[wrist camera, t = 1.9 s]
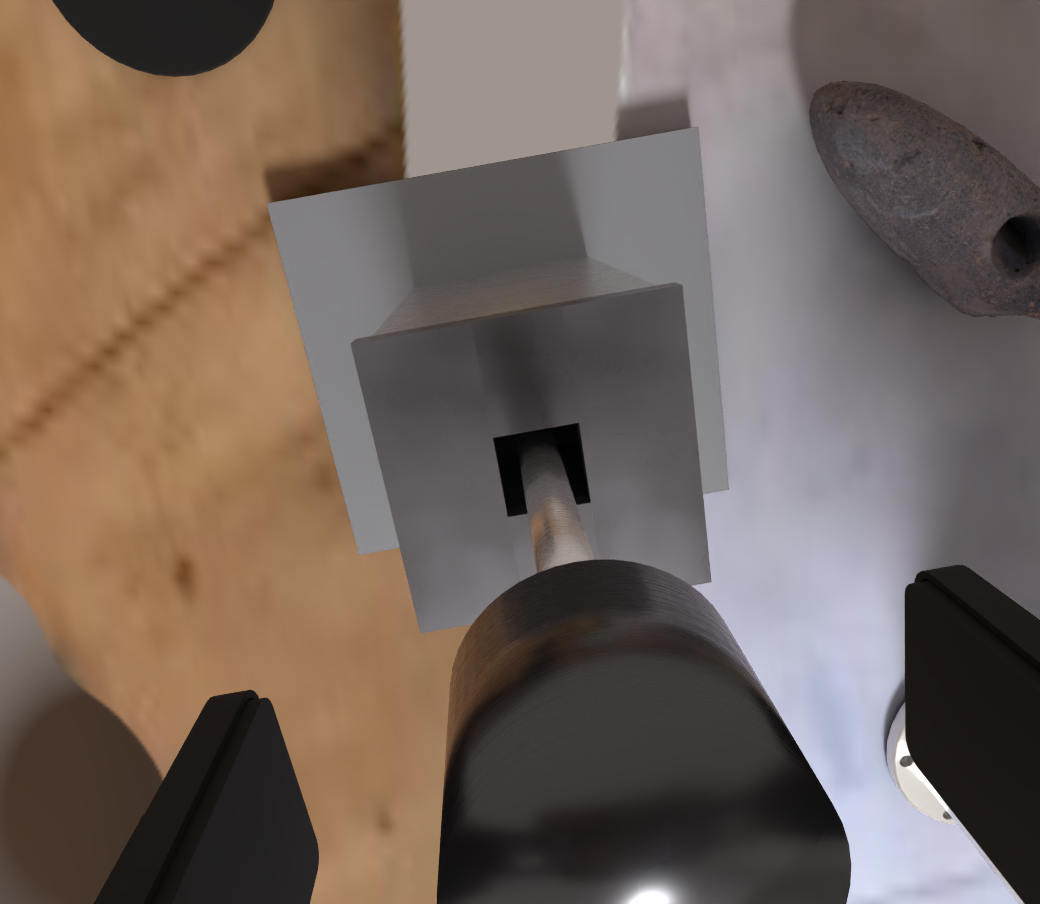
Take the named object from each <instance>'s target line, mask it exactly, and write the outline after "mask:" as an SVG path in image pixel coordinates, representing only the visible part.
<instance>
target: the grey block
mask: <svg viewBox="0 0 1040 904" xmlns="http://www.w3.org/2000/svg"><path fill="white" fill-rule="evenodd" d="M350 345H351V349H352V353H353V357H354V361H355V365H356V369H357V373H358V378H359V382H360V386H361V390H362V394H363V398H364V402H365V406H366V411H367V415H368V419H369V423H370V427H371V431H372V435H373V439H374V443H375V448H376V452H377V456H378V460H379V464H380V468H381V472H382V476H383V480H384V485H385V489H386V493H387V497H388V501H389V505H390V509H391V513H392V518H393V522H394V526H395V530H396V534H397V538H398V542H399V546H400V550H401V555H402V559H403V563H404V567H405V571H406V575H407V579H408V583H409V588H410V592H411V596H412V600H413V604H414V608H415V612H416V616H417V620H418V625H419V629H420V633H424V632H430V631H436V630H442V629H447V628H453V627H459V626H464V625H470V624H473V623H474V621H475V620H476V619H477V618H478V616H479V615H480V614H481V613H482V612H483V611H484V610H485V609H486V607H487V606H488V605H489V604H491V603H492V602H493V601H494V600H495V599H496V598H497V597H499V596H500V595H501V594H502V593H503V592H505V591H506V590H508V589H509V588H511V587H512V586H514V585H515V584H517V583H518V582H520V581H522V580H524V579H526V578H528V577H530V576H532V575H534V574H536V573H537V570H536V563H535V557H534V551H533V544H532V538H531V531H530V525H529V519H528V512H527V506H526V500H525V493H524V487H523V480H522V474H521V468H520V461H519V455H518V449H517V442H516V436H515V434H518V433H523V432H529V431H535V430H540V429H546V428H552V432H553V435H554V438H555V441H556V444H557V447H558V450H559V453H560V456H561V459H562V462H563V465H564V468H565V471H566V474H567V477H568V481H569V484H570V487H571V490H572V493H573V496H574V499H575V502H576V505H577V508H578V511H579V514H580V517H581V520H582V523H583V526H584V529H585V533H586V536H587V539H588V542H589V545H590V548H591V551H592V554H593V557H594V560H622V561H630V562H636V563H640V564H644V565H648V566H652V567H655V568H657V569H660V570H663V571H665V572H668V573H670V574H672V575H674V576H676V577H677V578H679V579H681V580H683V581H685V582H686V583H688V584H689V585H690V586H692V585H697V584H703V583H709V582H711V573H710V563H709V552H708V542H707V532H706V522H705V511H704V501H703V491H702V481H701V470H700V460H699V450H698V439H697V429H696V419H695V409H694V398H693V388H692V378H691V368H690V357H689V347H688V337H687V326H686V316H685V306H684V296H683V285H681V284H678V283H676V282H673V283H667V284H662V285H654V284H651V283H649V282H647V281H644V280H642V279H640V278H637V277H635V276H633V275H630V274H628V273H626V272H623V271H621V270H619V269H616V268H614V267H612V266H609V265H607V264H605V263H602V262H600V261H598V260H595V259H593V258H591V257H589V256H585V257H579V258H574V259H568V260H562V261H557V262H551V263H546V264H540V265H534V266H529V267H523V268H517V269H512V270H506V271H501V272H495V273H489V274H484V275H478V276H472V277H467V278H461V279H456V280H450V281H444V282H439V283H433V284H427V285H422V286H416V287H413V289H412V290H411V291H410V292H409V293H408V294H407V296H406V297H405V298H404V299H403V300H402V301H401V303H400V304H399V305H398V306H397V307H396V308H395V310H394V311H393V312H392V313H391V314H390V315H389V316H388V318H387V319H386V320H385V321H384V322H383V323H382V325H381V326H380V327H379V328H378V329H377V330H376V332H375V333H374V334H373V335H372V336H369V337H363V338H357V339H355V340H354V341H353V342H352V343H351V344H350Z"/></svg>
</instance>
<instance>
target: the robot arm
mask: <svg viewBox="0 0 1040 904" xmlns="http://www.w3.org/2000/svg"><path fill="white" fill-rule="evenodd" d="M887 762H888V767H889V772H890V774H891V776H892V778H893V781H894V783H895V785H896V786H897V787H898V789H899V790H900V791H901V793H902V794H903V796H904V797H905V799H906V800H907V801H908V802H909V803H910V804H911V805H912V806H913V807H914V808H915V809H917V810H918V811H919V812H921V813H923V814H925V815H926V816H928V817H930V818H932V819H934V820H937V821H940V822H943V823H947V824H954V825H958V826H959V827H960V829H961V830H962V831H963V833H964V834H965V835H966V836H967V838H968V839H969V840H970V842H971V843H972V844H973V846H974V847H975V848H976V849H977V851H978V852H979V853H980V855H981V856H982V857H983V858H984V860H985V861H986V862H987V864H988V865H989V866H990V867H991V869H992V870H993V871H994V873H995V874H996V875H997V876H998V878H999V879H1000V880H1001V882H1002V883H1003V884H1004V885H1005V887H1006V888H1007V889H1008V891H1009V892H1010V893H1011V894H1012V896H1013V897H1014V898H1015V900H1016V901H1017V902H1018V903H1019V904H1040V620H1039V619H1038V618H1036V617H1035V616H1034V615H1032V614H1031V613H1029V612H1028V611H1027V610H1025V609H1024V608H1023V607H1021V606H1020V605H1019V604H1017V603H1016V602H1014V601H1013V600H1012V599H1010V598H1009V597H1008V596H1006V595H1005V594H1004V593H1002V592H1001V591H999V590H998V589H997V588H995V587H994V586H993V585H991V584H990V583H989V582H987V581H986V580H984V579H983V578H982V577H980V576H979V575H978V574H976V573H975V572H974V571H972V570H971V569H969V568H968V567H966V566H964V565H955V566H949V567H943V568H938V569H932V570H926V571H921V572H920V573H918V574H917V576H916V578H915V583H912V584H909V585H908V586H907V587H906V589H905V702H904V704H903V705H902V706H901V708H900V709H899V711H898V713H897V715H896V717H895V719H894V721H893V723H892V725H891V729H890V733H889V736H888V740H887ZM318 864H319V850H318V843H317V839H316V836H315V833H314V830H313V827H312V824H311V821H310V818H309V815H308V812H307V809H306V806H305V803H304V800H303V797H302V794H301V790H300V787H299V784H298V781H297V778H296V775H295V772H294V769H293V766H292V763H291V760H290V757H289V754H288V751H287V748H286V745H285V742H284V739H283V736H282V733H281V730H280V727H279V723H278V720H277V717H276V714H275V711H274V708H273V706H272V703H271V701H270V700H269V699H268V698H260V699H259V697H258V695H257V694H256V693H255V691H253V690H246V691H241V692H235V693H229V694H224V695H218V696H213V697H211V698H210V699H209V700H208V701H207V702H206V704H205V706H204V708H203V710H202V711H201V713H200V715H199V717H198V719H197V720H196V722H195V724H194V726H193V728H192V729H191V731H190V733H189V735H188V737H187V738H186V740H185V742H184V744H183V746H182V748H181V749H180V751H179V753H178V755H177V757H176V758H175V760H174V762H173V764H172V766H171V767H170V769H169V771H168V773H167V775H166V777H165V778H164V780H163V782H162V784H161V786H160V787H159V789H158V791H157V793H156V795H155V796H154V798H153V800H152V802H151V804H150V805H149V808H148V809H147V811H146V812H145V814H144V815H143V816H142V818H141V820H140V821H139V823H138V825H137V827H136V828H135V830H134V832H133V834H132V836H131V838H130V839H129V841H128V843H127V845H126V846H125V848H124V850H123V852H122V854H121V855H120V857H119V859H118V861H117V863H116V865H115V867H114V868H113V870H112V872H111V874H110V875H109V877H108V879H107V881H106V883H105V884H104V886H103V888H102V890H101V892H100V893H99V895H98V897H97V899H96V901H95V902H94V904H310V900H311V896H312V892H313V888H314V883H315V879H316V875H317V871H318Z"/></svg>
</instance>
